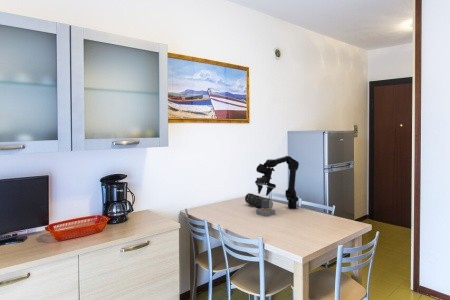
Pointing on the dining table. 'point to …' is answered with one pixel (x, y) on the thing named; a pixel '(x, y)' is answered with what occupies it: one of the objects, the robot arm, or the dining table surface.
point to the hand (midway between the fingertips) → (262, 194)
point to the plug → (265, 204)
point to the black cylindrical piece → (256, 200)
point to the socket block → (265, 212)
